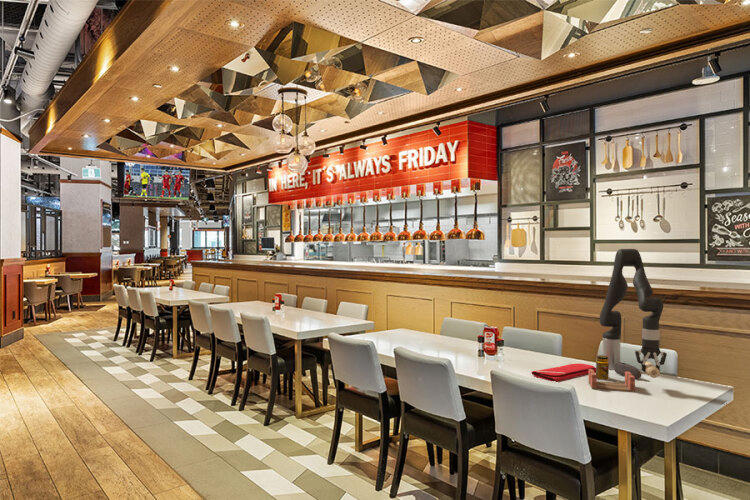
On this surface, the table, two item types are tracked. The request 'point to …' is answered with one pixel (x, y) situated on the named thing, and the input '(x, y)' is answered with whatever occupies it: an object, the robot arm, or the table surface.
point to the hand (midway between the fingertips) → (650, 372)
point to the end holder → (612, 383)
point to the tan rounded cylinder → (652, 370)
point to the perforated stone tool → (627, 369)
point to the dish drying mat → (563, 372)
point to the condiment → (602, 368)
